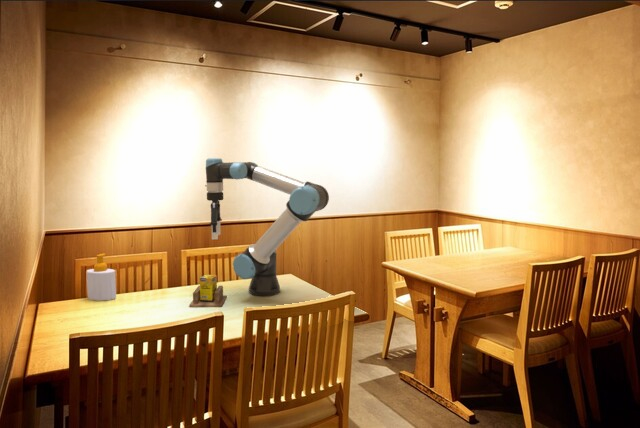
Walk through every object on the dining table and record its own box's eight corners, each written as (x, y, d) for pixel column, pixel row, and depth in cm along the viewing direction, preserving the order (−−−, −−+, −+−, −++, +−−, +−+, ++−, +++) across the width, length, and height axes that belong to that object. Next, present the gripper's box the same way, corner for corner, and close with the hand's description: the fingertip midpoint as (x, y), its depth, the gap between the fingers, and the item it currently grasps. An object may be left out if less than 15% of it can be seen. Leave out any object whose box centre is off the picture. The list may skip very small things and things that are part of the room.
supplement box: (212, 302, 208) (212, 278, 207) (199, 301, 209) (199, 277, 208) (217, 298, 214) (217, 275, 213) (205, 297, 215) (204, 274, 213)
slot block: (226, 297, 219) (226, 284, 218) (221, 306, 205) (221, 293, 204) (196, 297, 218) (195, 285, 217) (189, 307, 204) (189, 293, 204)
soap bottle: (120, 296, 219) (118, 253, 217) (109, 301, 211) (107, 257, 209) (94, 295, 221) (92, 252, 219) (83, 300, 213) (80, 256, 211)
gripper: (209, 190, 229) (211, 233, 232) (203, 193, 205) (204, 241, 207) (225, 189, 230) (226, 232, 232) (220, 193, 205) (222, 241, 208)
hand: (216, 236), depth 220 cm, fingers open, 13 cm apart
